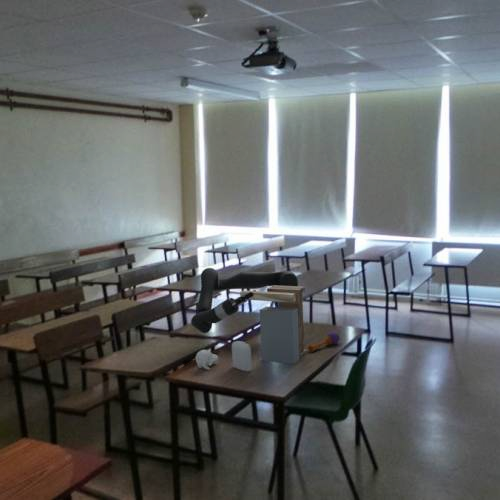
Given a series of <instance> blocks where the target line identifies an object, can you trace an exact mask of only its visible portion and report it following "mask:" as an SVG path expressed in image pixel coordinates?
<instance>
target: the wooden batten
mask: <svg viewBox="0 0 500 500" xmlns="http://www.w3.org/2000/svg"><path fill="white" fill-rule="evenodd" d="M249 292H253V294H254V296H252V297H250V298H249V299H247V300H248V301H261V302H263V301H264V302H274V303H275V302H277V303H278V302H291V303H293V302H295V301H296V300H295V293H280V292H267V291H260V290H256V291H254V290H245V289H244V290H243V289H242V290H241V291H240V292H239V297H240V296H241V297H242V296H243V295H246V294H248V293H249Z"/></svg>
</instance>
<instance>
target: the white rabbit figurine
mask: <svg viewBox="0 0 500 500" xmlns="http://www.w3.org/2000/svg"><path fill="white" fill-rule="evenodd" d="M195 361H196V364H197V367H198V368H199V369H204V370H209V371H210V369H211V368H210V366H212V365H216V364H217V363H218V361H219V357H218V355H217V354H213V353H212V352H211V351H210V350H208V349H201V350H200V351H198V352H197V353H196V356H195ZM207 364H208V365H207Z"/></svg>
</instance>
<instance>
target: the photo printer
mask: <svg viewBox="0 0 500 500" xmlns="http://www.w3.org/2000/svg"><path fill="white" fill-rule="evenodd" d="M231 358H232V367H233V368H235V369H238V370H240V371H243V372H251V371H252V370H253V366H252V363H253V362H252V349H251V346H250V344H248V343H246V342H245V341H242V340H241V341H240V340H238V341H237V340H236V341H233V342H232V343H231Z"/></svg>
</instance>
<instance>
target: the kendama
mask: <svg viewBox="0 0 500 500" xmlns="http://www.w3.org/2000/svg"><path fill="white" fill-rule="evenodd" d="M339 341H340V336H339V334H338V333H337V332H335V331H332V332H330V333H329V334H328V335H327V336H326V337H325V338H324V341H322V342H317V343H314V344H310V345H308V347H307V350H308V351H309V352H311V353H313V352H314V351H317V350H318V349H320V348H321V347H322V346H323V345H325V344H327V345H336V344H338V343H339Z"/></svg>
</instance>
